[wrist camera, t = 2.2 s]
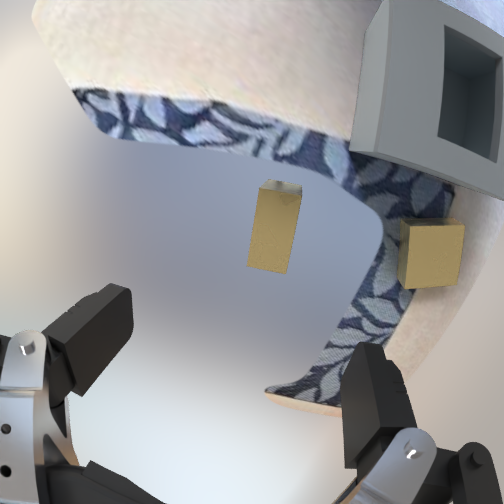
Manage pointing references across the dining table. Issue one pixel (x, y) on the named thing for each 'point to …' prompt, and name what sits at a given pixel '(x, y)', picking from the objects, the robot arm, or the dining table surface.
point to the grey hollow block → (433, 94)
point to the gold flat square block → (274, 225)
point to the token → (429, 252)
